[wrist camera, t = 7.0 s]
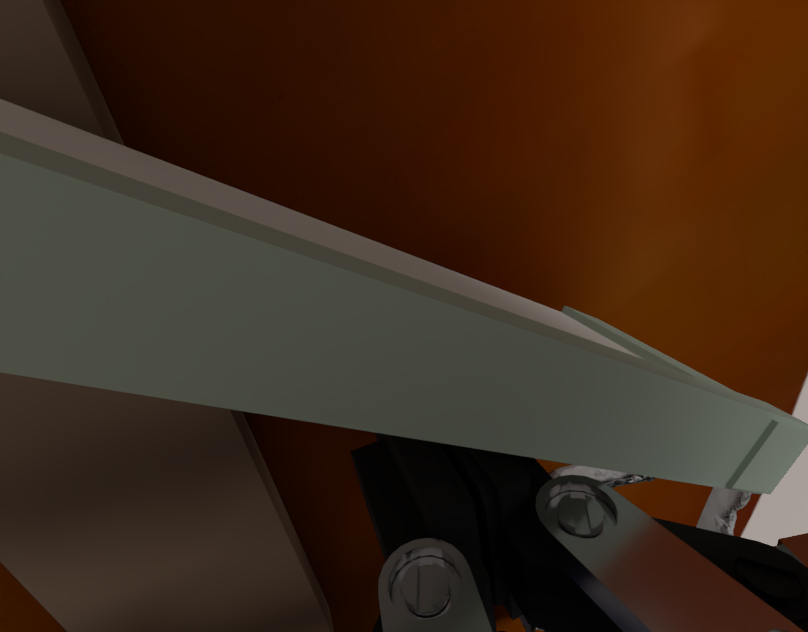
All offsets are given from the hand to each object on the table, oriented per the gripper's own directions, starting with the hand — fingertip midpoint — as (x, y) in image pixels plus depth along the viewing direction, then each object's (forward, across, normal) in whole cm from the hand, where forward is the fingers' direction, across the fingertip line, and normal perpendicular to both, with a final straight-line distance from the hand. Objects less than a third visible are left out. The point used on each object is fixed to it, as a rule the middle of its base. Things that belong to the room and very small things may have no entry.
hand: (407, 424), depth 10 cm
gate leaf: (+1, 0, -4) cm, 4 cm away
